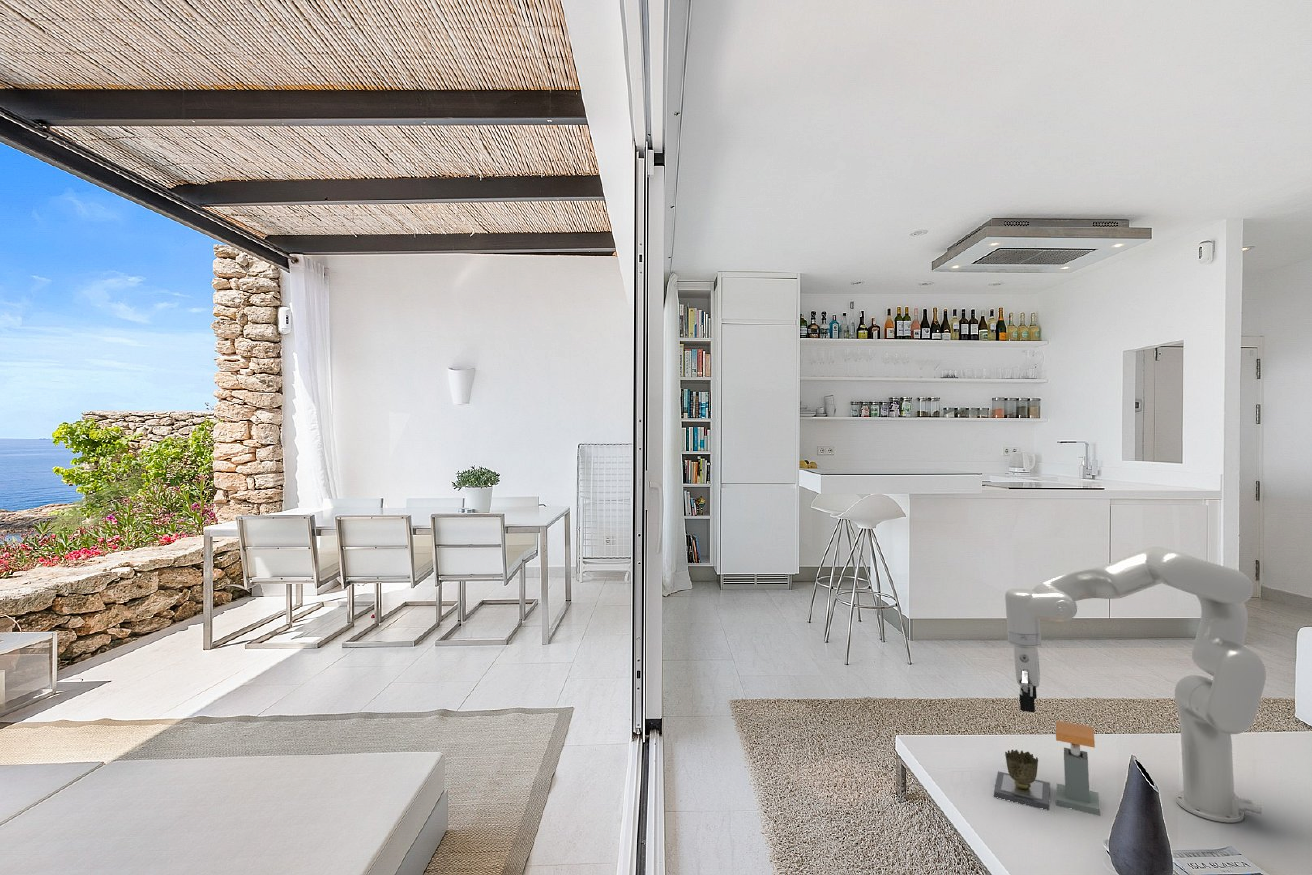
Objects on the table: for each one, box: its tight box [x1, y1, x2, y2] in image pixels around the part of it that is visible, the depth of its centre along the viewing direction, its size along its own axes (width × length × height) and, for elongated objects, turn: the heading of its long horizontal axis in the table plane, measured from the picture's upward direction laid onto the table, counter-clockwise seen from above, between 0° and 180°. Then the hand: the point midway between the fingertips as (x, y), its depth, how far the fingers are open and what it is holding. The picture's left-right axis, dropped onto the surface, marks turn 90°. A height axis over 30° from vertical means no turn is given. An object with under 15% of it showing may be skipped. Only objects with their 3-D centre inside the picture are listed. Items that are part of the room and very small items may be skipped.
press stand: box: [1055, 747, 1101, 817], centre depth 161 cm, size 9×9×12 cm
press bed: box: [993, 771, 1051, 811], centre depth 165 cm, size 12×12×2 cm
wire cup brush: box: [1004, 749, 1039, 790], centre depth 165 cm, size 8×7×8 cm
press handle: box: [1055, 720, 1096, 757], centre depth 161 cm, size 8×8×12 cm
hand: (1028, 704), depth 165 cm, fingers open, 9 cm apart
